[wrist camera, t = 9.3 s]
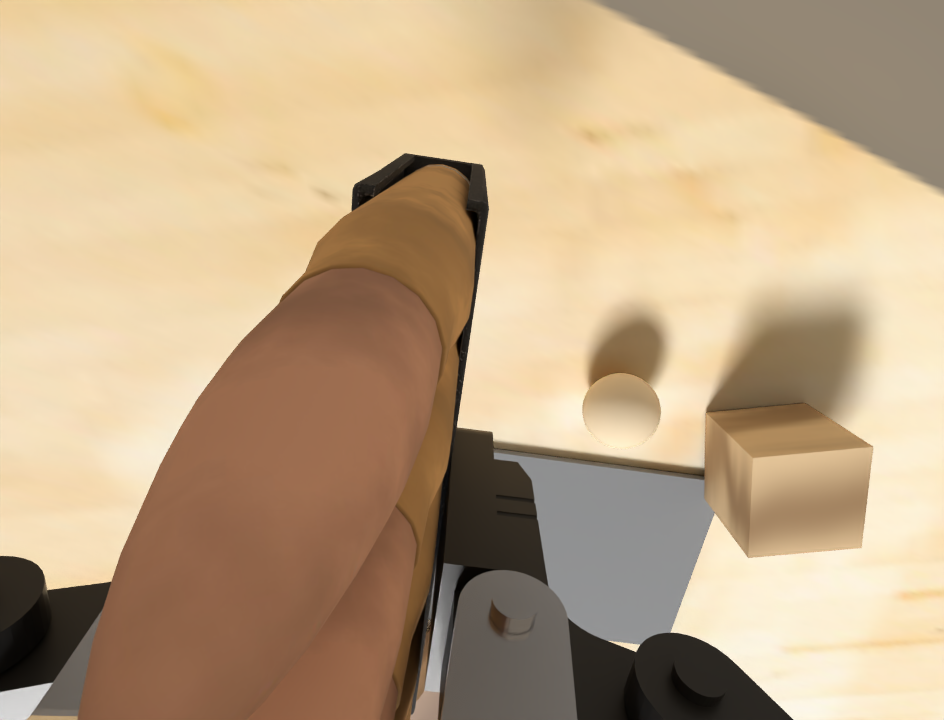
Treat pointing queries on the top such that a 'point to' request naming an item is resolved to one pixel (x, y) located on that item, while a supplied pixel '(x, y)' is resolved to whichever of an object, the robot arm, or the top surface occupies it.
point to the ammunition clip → (309, 483)
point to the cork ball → (621, 411)
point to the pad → (616, 541)
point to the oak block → (786, 479)
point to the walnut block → (425, 693)
